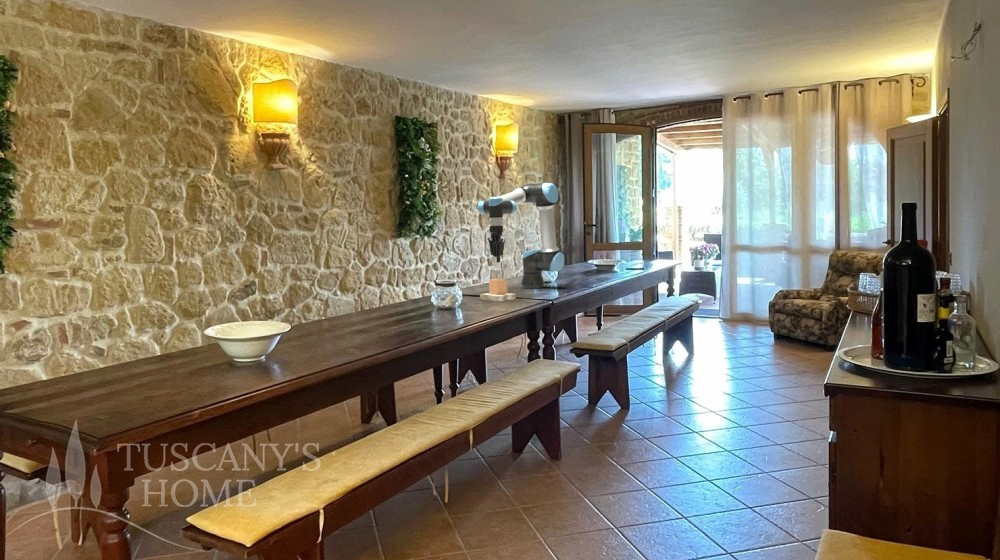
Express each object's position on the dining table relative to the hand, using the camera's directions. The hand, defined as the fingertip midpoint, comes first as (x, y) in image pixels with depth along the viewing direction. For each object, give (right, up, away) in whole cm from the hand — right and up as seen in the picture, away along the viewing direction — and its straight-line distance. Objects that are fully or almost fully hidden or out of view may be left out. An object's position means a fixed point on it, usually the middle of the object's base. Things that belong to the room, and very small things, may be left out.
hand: (497, 268), depth 384 cm
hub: (0, -17, +2) cm, 17 cm away
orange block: (+1, -14, +2) cm, 14 cm away
